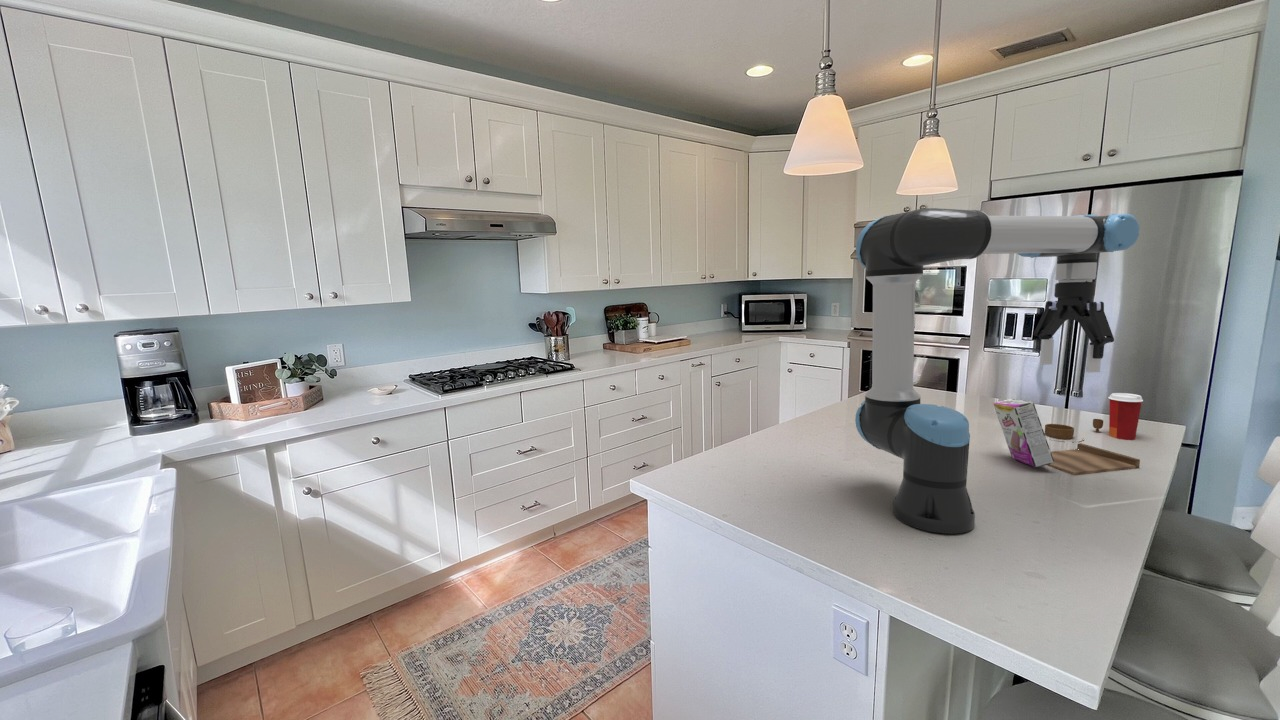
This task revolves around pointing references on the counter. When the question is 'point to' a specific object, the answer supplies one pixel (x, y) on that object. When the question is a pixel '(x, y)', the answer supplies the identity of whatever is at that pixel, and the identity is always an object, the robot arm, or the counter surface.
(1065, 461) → the board
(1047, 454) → the candy bar box
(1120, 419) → the paper cup
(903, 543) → the counter surface
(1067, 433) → the place setting
